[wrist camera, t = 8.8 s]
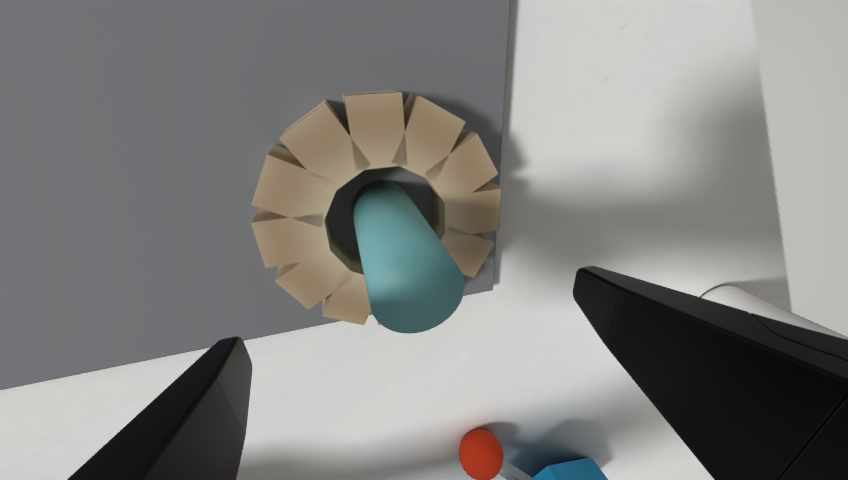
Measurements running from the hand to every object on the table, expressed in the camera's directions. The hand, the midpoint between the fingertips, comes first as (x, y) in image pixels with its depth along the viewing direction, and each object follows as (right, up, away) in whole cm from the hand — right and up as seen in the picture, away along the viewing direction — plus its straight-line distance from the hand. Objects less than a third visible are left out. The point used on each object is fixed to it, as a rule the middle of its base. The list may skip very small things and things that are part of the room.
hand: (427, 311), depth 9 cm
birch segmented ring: (-2, +3, +7) cm, 8 cm away
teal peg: (-2, +3, +7) cm, 8 cm away
